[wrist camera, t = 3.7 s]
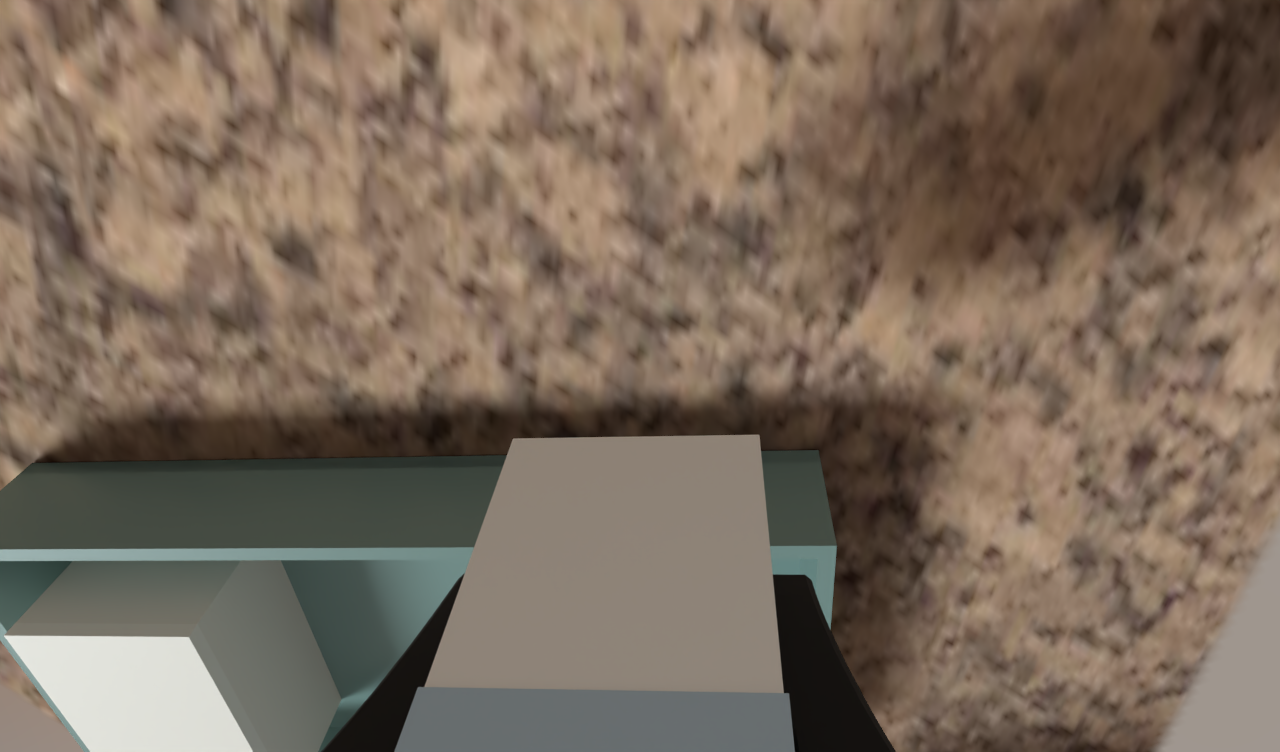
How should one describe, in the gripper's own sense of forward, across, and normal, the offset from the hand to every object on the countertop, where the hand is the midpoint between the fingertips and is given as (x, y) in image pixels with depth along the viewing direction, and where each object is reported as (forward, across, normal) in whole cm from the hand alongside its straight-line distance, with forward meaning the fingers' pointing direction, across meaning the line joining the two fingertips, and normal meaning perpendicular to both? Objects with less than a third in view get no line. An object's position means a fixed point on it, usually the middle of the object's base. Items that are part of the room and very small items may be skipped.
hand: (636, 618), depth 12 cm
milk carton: (+2, 0, 0) cm, 2 cm away
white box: (+8, +14, +9) cm, 19 cm away
